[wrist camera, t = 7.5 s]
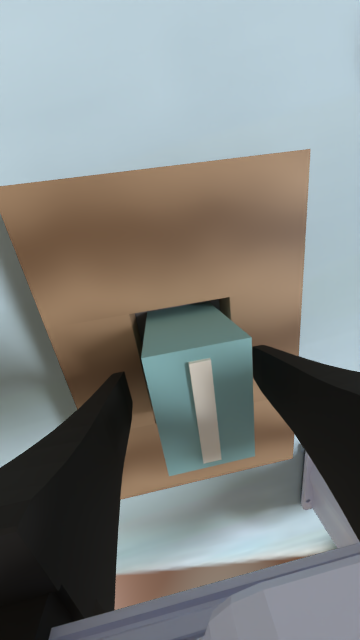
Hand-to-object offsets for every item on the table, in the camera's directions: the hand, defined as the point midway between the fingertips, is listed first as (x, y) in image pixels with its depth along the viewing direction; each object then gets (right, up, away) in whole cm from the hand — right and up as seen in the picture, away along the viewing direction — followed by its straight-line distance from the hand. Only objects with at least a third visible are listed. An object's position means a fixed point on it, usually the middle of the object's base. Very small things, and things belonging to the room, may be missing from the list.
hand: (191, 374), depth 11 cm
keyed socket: (0, +1, +3) cm, 3 cm away
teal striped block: (0, +1, +3) cm, 3 cm away
